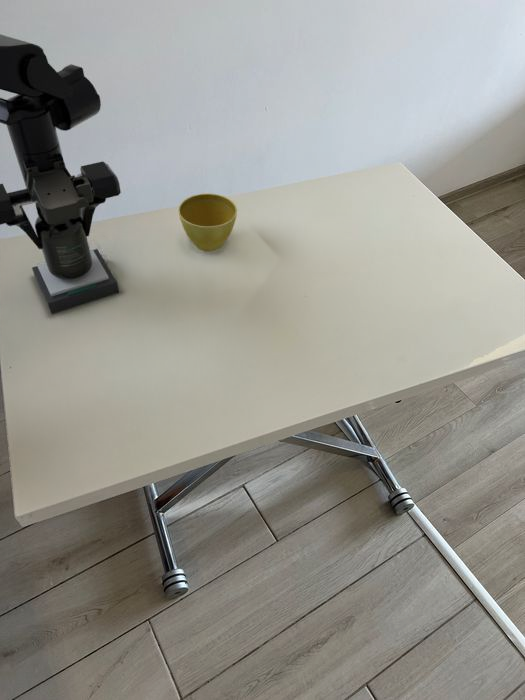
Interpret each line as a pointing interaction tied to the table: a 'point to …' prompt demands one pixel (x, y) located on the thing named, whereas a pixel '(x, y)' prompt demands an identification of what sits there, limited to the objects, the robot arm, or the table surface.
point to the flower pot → (207, 220)
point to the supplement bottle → (64, 246)
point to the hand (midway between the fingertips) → (63, 241)
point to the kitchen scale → (76, 285)
